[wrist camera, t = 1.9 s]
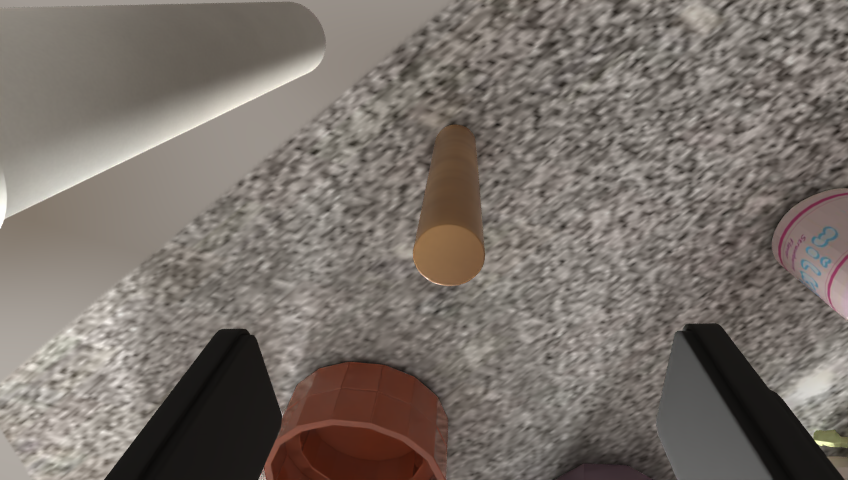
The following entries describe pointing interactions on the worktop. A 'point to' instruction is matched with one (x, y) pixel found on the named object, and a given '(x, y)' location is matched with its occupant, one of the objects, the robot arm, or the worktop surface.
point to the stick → (451, 212)
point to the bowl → (360, 428)
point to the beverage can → (817, 246)
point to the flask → (603, 473)
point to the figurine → (833, 439)
